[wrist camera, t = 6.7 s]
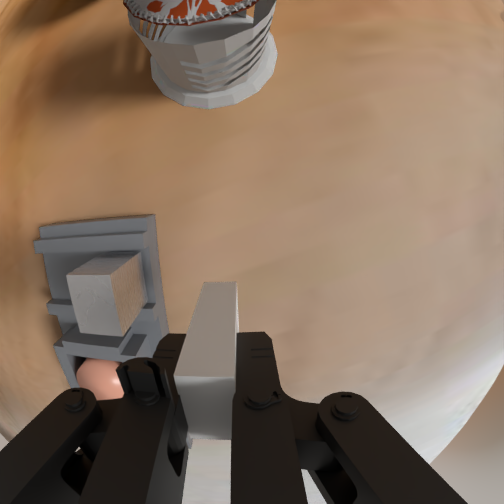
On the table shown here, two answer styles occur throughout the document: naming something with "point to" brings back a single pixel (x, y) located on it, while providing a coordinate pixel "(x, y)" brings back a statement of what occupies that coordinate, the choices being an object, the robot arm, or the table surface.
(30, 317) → the table surface
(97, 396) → the push button
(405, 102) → the table surface
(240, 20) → the french press
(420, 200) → the table surface
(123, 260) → the slide switch
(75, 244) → the panel
